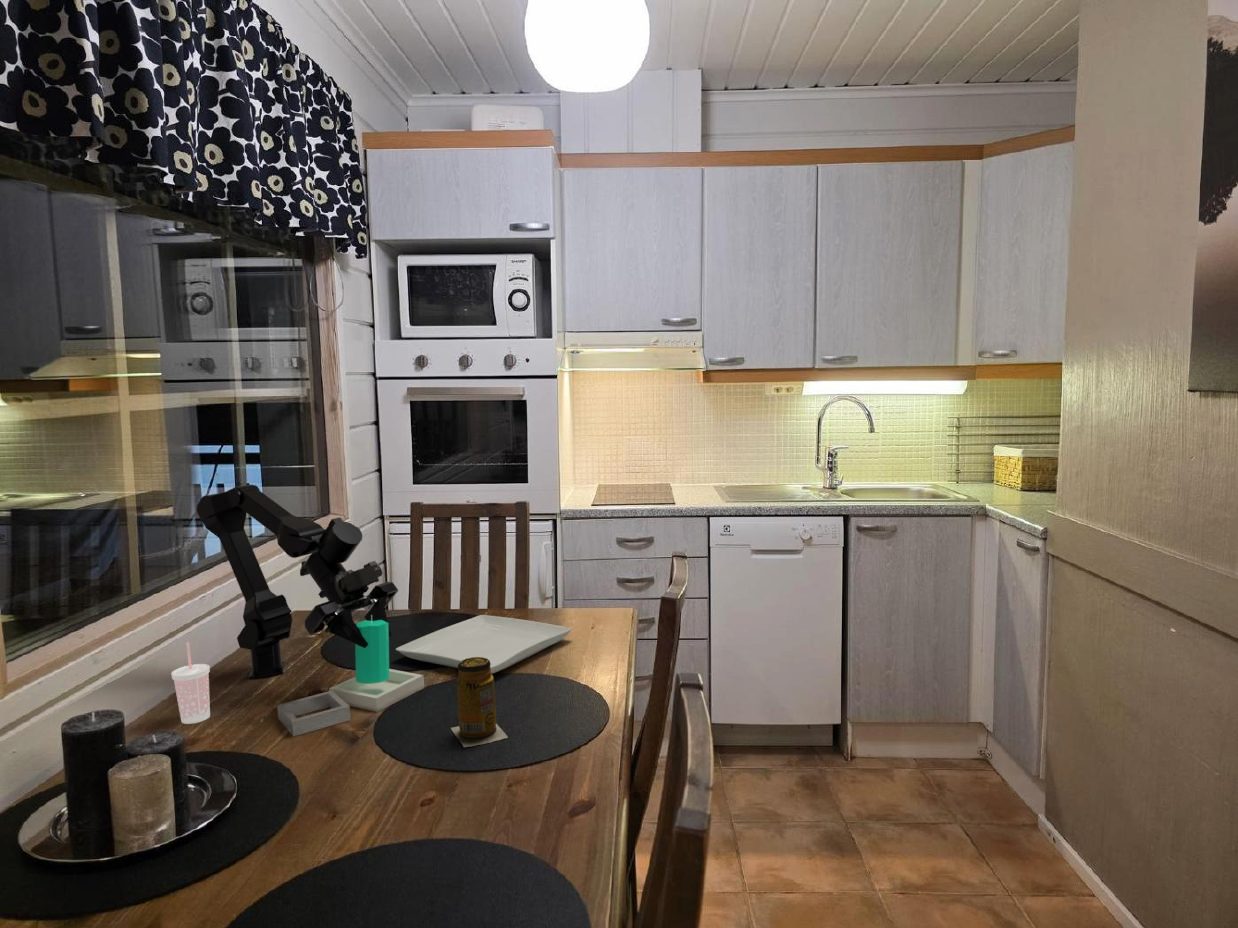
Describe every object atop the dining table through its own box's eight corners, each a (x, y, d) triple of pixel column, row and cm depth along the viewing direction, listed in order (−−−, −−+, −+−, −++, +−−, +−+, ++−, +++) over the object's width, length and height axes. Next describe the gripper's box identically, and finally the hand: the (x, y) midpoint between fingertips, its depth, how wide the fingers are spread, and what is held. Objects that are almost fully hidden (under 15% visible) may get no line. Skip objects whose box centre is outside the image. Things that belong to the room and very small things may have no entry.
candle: (387, 682, 148) (386, 617, 148) (353, 684, 147) (352, 619, 146) (390, 673, 154) (389, 610, 153) (357, 675, 153) (356, 612, 152)
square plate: (575, 642, 177) (574, 625, 177) (492, 685, 154) (491, 666, 154) (482, 627, 192) (481, 611, 191) (394, 664, 169) (392, 646, 168)
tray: (330, 701, 149) (329, 688, 149) (378, 678, 159) (377, 666, 159) (377, 711, 143) (376, 698, 143) (424, 687, 154) (423, 675, 153)
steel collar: (278, 718, 142) (277, 704, 142) (333, 703, 148) (332, 690, 148) (293, 736, 135) (292, 722, 134) (350, 719, 140) (349, 706, 140)
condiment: (492, 719, 138) (488, 651, 137) (508, 738, 130) (503, 666, 129) (450, 729, 135) (445, 660, 133) (464, 749, 127) (459, 675, 126)
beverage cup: (208, 708, 148) (200, 634, 147) (219, 717, 144) (211, 641, 143) (171, 719, 144) (163, 643, 143) (182, 728, 140) (174, 650, 138)
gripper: (310, 562, 142) (359, 630, 138) (388, 541, 158) (434, 601, 154) (284, 600, 147) (330, 668, 143) (362, 576, 163) (406, 636, 159)
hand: (378, 641), depth 150 cm, fingers closed on candle, 5 cm apart
